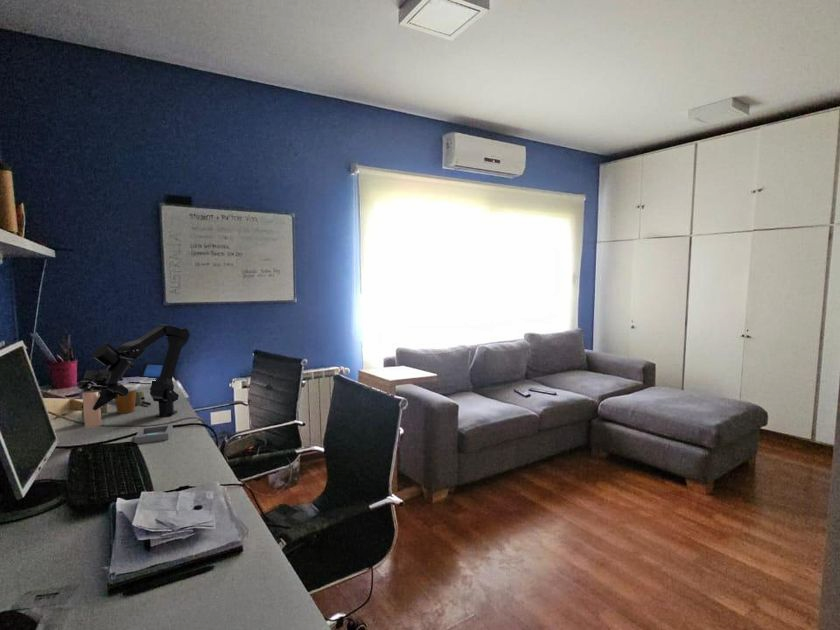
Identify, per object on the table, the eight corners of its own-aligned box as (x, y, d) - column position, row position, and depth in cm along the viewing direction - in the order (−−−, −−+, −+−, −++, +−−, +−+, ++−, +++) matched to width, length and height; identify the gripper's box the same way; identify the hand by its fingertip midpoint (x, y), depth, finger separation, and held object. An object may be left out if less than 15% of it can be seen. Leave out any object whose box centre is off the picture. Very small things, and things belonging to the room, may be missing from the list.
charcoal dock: (141, 433, 163) (140, 427, 163) (172, 430, 167) (172, 423, 167) (134, 443, 153) (134, 436, 153) (168, 439, 158) (168, 432, 157)
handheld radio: (125, 398, 212) (153, 405, 199) (118, 400, 209) (146, 407, 197) (124, 385, 211) (152, 392, 199) (116, 387, 208) (145, 394, 196)
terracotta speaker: (90, 423, 156) (87, 390, 155) (104, 422, 157) (101, 390, 156) (82, 428, 152) (79, 394, 150) (96, 427, 152) (94, 393, 151)
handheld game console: (127, 383, 241) (126, 367, 240) (145, 377, 254) (144, 362, 253) (152, 384, 239) (151, 368, 238) (169, 378, 252) (168, 363, 251)
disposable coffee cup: (141, 411, 190) (139, 385, 189) (116, 416, 183) (114, 389, 182) (135, 407, 197) (134, 381, 196) (110, 411, 190) (109, 385, 189)
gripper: (79, 359, 158) (50, 396, 149) (119, 361, 154) (91, 400, 144) (101, 375, 167) (74, 411, 157) (139, 377, 162) (115, 415, 153)
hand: (88, 409), depth 152 cm, fingers closed on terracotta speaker, 5 cm apart
